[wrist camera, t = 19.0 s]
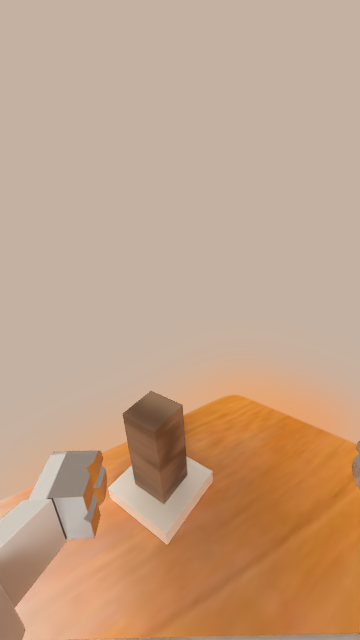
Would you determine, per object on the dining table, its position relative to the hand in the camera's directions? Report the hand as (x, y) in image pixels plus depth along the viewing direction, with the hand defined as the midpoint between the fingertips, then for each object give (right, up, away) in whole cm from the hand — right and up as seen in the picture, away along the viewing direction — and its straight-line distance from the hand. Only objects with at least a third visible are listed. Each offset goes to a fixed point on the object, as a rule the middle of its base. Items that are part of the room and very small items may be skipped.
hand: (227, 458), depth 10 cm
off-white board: (-4, -19, +32) cm, 37 cm away
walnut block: (-4, -17, +31) cm, 36 cm away
